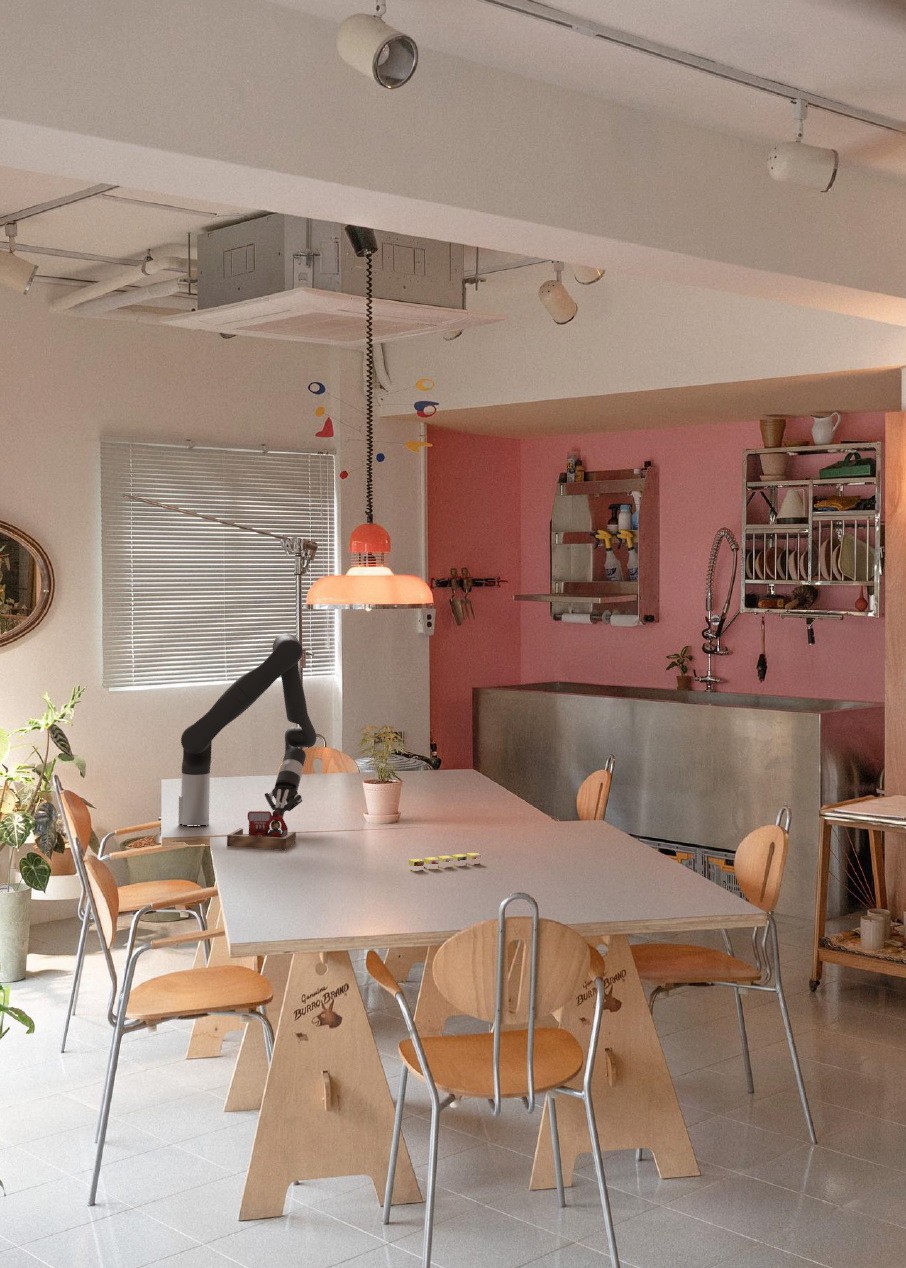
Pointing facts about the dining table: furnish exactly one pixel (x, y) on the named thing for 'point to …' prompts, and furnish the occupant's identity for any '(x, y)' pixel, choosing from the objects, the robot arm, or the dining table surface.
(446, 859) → the yellow cube chain
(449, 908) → the dining table surface
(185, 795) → the robot arm
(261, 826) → the toy fire truck
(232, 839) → the walnut cradle
